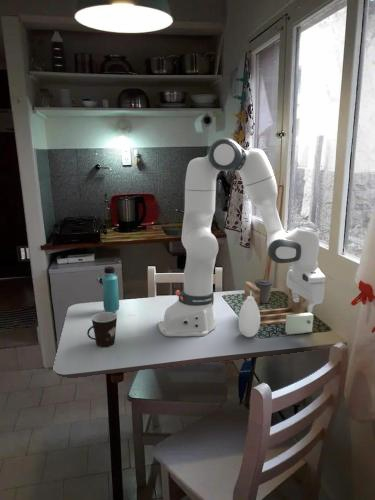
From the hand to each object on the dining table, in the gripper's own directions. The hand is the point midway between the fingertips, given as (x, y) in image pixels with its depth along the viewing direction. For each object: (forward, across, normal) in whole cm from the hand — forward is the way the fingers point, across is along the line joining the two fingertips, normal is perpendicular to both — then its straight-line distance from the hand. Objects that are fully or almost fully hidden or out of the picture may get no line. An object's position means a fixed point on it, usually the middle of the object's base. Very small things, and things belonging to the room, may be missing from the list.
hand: (302, 306), depth 142 cm
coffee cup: (+10, -32, -1) cm, 34 cm away
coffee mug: (+9, -7, -74) cm, 75 cm away
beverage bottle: (+9, -34, -69) cm, 77 cm away
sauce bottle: (+10, -1, -21) cm, 23 cm away
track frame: (+10, -13, -5) cm, 17 cm away
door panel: (+10, 0, -1) cm, 11 cm away
